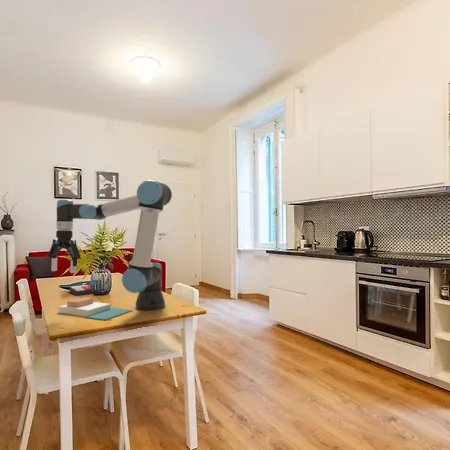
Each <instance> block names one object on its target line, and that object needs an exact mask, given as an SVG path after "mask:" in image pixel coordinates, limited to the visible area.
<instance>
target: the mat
mask: <svg viewBox="0 0 450 450" xmlns="http://www.w3.org/2000/svg"><path fill="white" fill-rule="evenodd" d="M130 312H133V310H132V309H125V308H119V307H118V308H117V307H111V309H108V310H105V311H102V312H99V313H96V314H92V315H89V316H84V317H85V319H90V320H91V319H93V320H98V321H99V320H100V321H107V320H110V319H114V318H116V317H119V316H122V315H125V314H128V313H130Z"/></svg>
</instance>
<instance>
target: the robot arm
mask: <svg viewBox="0 0 450 450" xmlns="http://www.w3.org/2000/svg"><path fill="white" fill-rule="evenodd" d="M172 195H173V192H172V190H171V188H170V187H169V185H167V184H166V183H163V182H160V181H158V180H155V179H154V180H152V179H147V180H145V181H142V182H141V183H140V184H139V185H138V187H137V189H136V195H131V196H128V197H124V198H120V199H116V200H113V201H112V200H111V201H109V202H104V203H101V204H97V205H95V204H91V203H74V201H73V200H72V199H71V200H70V199H58V200H57V202H56V231H55V234H56V235H55V236H56V237H55V238H53V239H52V244H51V247H50V250H49V251H48V253H47V254H48V255H47V256H48V258H50V259H51V260H50V262H51V263H50V264H51V268H50V269H51V272H56V271H58V255H59V254H60V252H61V250H63V249H65V250H66V251H67V252H68V254H69V256H70V257H71V260H70V274H75V273H77V266H78V260H79V259H81V254H80V252H79V249H78V246H77V240H76V239H72V238H73V229H74V228H73V226H74V220H75V219H76V220H78V219H79V220H81V219H82V220H97V221H101V220H105V219H107V218H109V217H113V216H117V215H122V214H125V213H129V212H133V211H137V210H140V214H139V220H138V225H137V226H138V227H137V232H136V237H135V242H134V243H135V244H134V249H133V255H132V260H130V261H128V265H127V270H126V271H124V273H122V276H121V284H122V286H123V287H124V289H125V290H126V291H128V292H129V293H132V294H137V293H138V294H137V298H136V301H135V309H137V310H143V311H149V310H150V311H151V310H159V309H163V308H165V306H166V301H165V297H164V295H163V290H162V287H163V286H162V283H163V282H162V271H163V269H162V264H161V263H159V262H151V261H152V255H153V252H154V251H153V249H154V244H155V238H156V232H157V228H158V222H159V221H158V220H159V216H160V213H161V212H163V210H164V206H166V205H168V204H170V201H171V200H172V197H173V196H172Z"/></svg>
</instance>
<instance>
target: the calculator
mask: <svg viewBox="0 0 450 450" xmlns="http://www.w3.org/2000/svg"><path fill="white" fill-rule="evenodd" d="M69 293H70V294H72V295H74V296H83V295H84V296H85V295H91V293H92V290H91V286H89V285H88V284H83V285H75V286H70V287H69Z"/></svg>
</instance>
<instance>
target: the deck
mask: <svg viewBox="0 0 450 450" xmlns="http://www.w3.org/2000/svg"><path fill="white" fill-rule="evenodd" d="M111 308H112V305H111V303H105V302H98V301H97V302H96V301H93V303H92V304H89V305H85V306H81V307H78V308H77V307H69V306H67V304H64V305H60V306H58V313H59V314H67V315H73V316H81V317H86V316H89V315H92V314H96V313H99V312H102V311H105V310H108V309H111Z"/></svg>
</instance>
